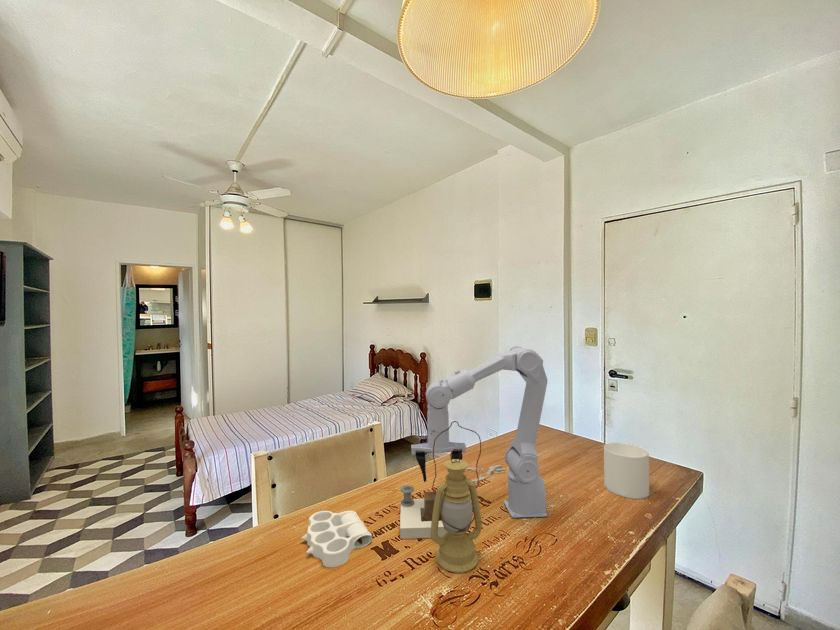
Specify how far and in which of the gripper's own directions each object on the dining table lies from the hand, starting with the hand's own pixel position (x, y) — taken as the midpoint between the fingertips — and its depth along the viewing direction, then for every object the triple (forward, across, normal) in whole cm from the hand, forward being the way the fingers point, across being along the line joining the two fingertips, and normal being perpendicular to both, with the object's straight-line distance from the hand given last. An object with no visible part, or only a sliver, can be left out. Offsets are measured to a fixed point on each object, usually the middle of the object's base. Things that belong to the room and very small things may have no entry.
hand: (439, 479), depth 92 cm
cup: (+10, -58, -9) cm, 59 cm away
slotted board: (+9, +4, +3) cm, 11 cm away
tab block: (+9, +2, +4) cm, 10 cm away
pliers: (+10, -17, -23) cm, 30 cm away
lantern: (+10, -2, +16) cm, 19 cm away
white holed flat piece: (+10, +26, +9) cm, 29 cm away
